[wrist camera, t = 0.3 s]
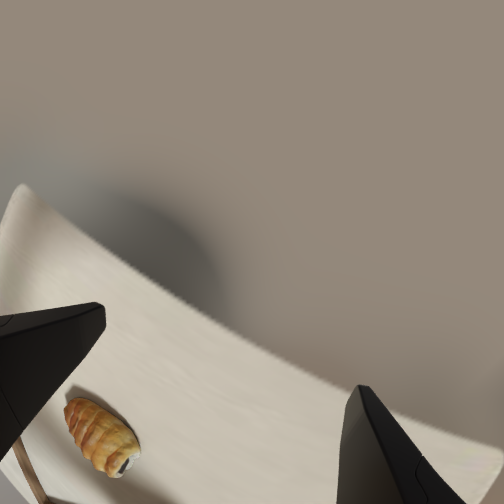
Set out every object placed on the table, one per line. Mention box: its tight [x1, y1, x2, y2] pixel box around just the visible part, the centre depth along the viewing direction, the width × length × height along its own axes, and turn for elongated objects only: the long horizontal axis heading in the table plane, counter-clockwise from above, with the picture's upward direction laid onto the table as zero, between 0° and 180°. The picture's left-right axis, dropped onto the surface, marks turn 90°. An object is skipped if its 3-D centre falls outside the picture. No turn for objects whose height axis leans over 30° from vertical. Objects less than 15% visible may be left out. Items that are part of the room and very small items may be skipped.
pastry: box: [64, 398, 141, 478], centre depth 21 cm, size 9×7×4 cm
